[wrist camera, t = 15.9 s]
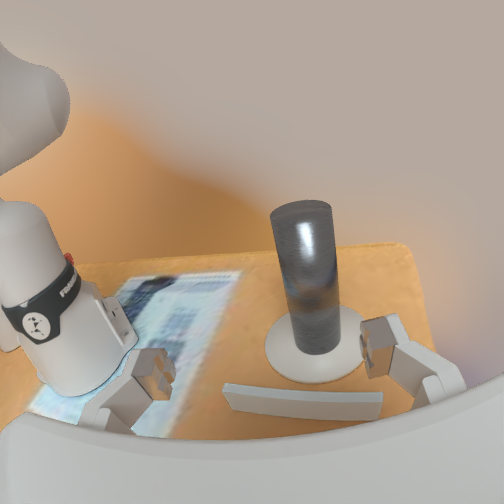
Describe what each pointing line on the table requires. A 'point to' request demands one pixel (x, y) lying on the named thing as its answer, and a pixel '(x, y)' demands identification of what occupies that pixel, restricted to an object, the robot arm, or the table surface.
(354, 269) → the table surface
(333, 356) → the resting pad
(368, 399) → the acrylic wall
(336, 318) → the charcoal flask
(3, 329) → the toilet tissue
